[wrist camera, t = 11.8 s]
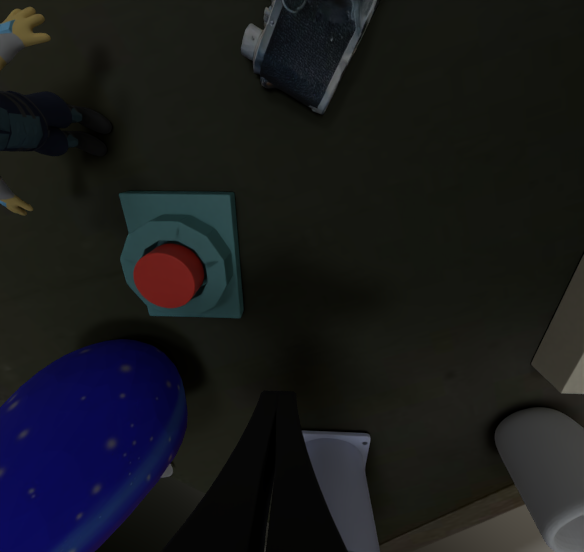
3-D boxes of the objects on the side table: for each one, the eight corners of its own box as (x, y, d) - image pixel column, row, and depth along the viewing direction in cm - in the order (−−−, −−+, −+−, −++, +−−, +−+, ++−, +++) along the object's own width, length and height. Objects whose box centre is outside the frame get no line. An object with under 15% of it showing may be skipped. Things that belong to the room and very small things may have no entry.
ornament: (107, 402, 27) (-97, 664, 13) (60, 324, 23) (-294, 578, 9) (216, 393, 26) (115, 670, 12) (185, 309, 22) (-12, 576, 8)
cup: (603, 440, 26) (718, 552, 19) (523, 475, 29) (597, 585, 22) (546, 381, 23) (655, 485, 16) (463, 425, 26) (525, 532, 19)
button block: (244, 310, 22) (235, 333, 19) (156, 307, 22) (135, 330, 19) (234, 191, 18) (222, 199, 15) (129, 190, 18) (98, 198, 15)
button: (208, 295, 18) (198, 309, 17) (154, 294, 18) (140, 307, 17) (200, 243, 17) (189, 253, 15) (142, 242, 17) (125, 252, 15)
